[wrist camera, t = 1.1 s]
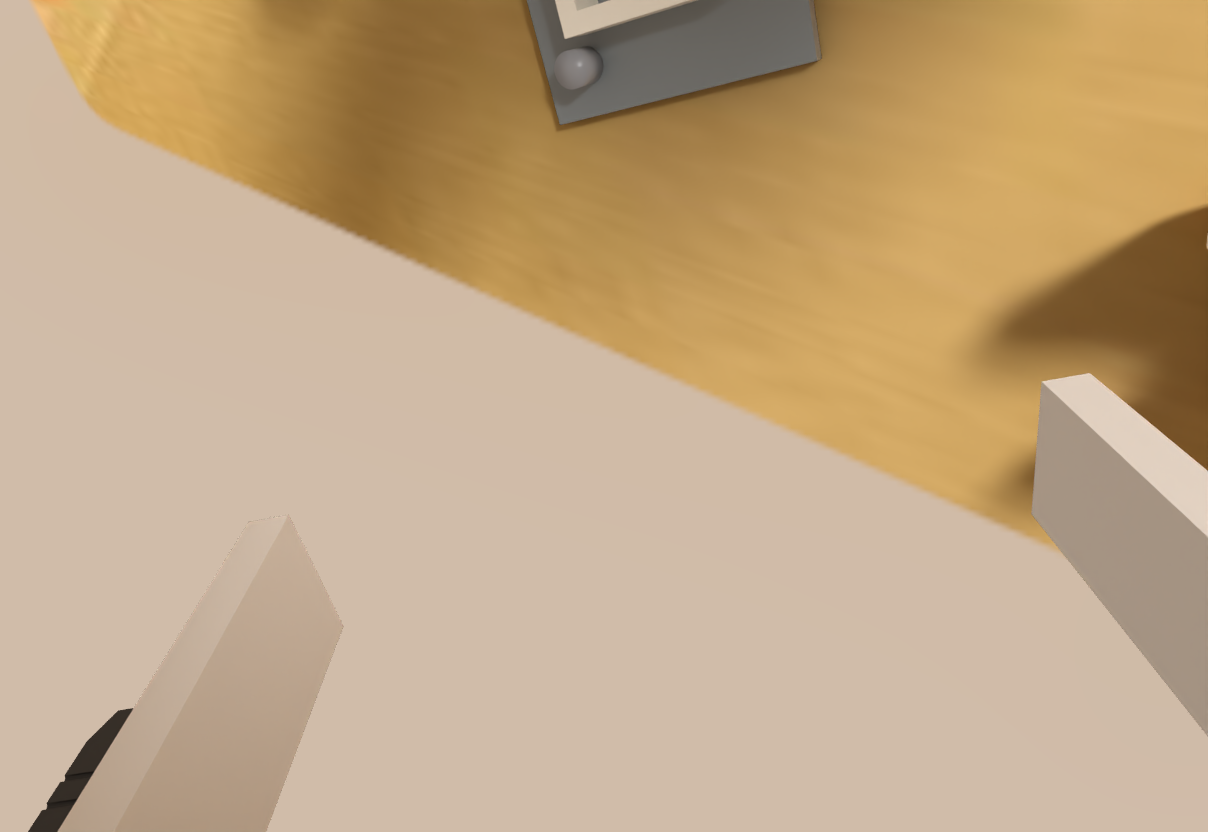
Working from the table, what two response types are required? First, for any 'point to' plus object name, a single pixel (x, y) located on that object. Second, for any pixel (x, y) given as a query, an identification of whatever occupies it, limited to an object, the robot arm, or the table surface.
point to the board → (663, 47)
